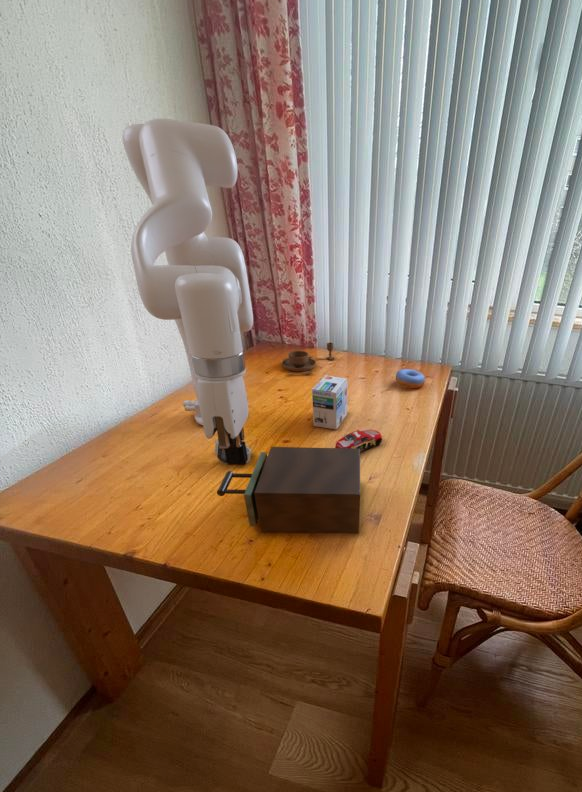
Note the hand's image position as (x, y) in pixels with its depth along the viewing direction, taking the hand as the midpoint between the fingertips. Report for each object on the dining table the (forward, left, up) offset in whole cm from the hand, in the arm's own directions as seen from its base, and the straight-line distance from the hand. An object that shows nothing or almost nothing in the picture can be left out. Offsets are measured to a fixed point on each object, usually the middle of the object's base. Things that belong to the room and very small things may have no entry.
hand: (238, 462), depth 69 cm
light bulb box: (+14, +37, -11) cm, 41 cm away
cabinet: (+13, 0, -11) cm, 17 cm away
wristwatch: (-7, +17, -11) cm, 22 cm away
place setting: (+4, +78, -11) cm, 79 cm away
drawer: (+8, 0, -10) cm, 12 cm away
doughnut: (+39, +64, -11) cm, 76 cm away
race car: (+22, +23, -11) cm, 34 cm away
